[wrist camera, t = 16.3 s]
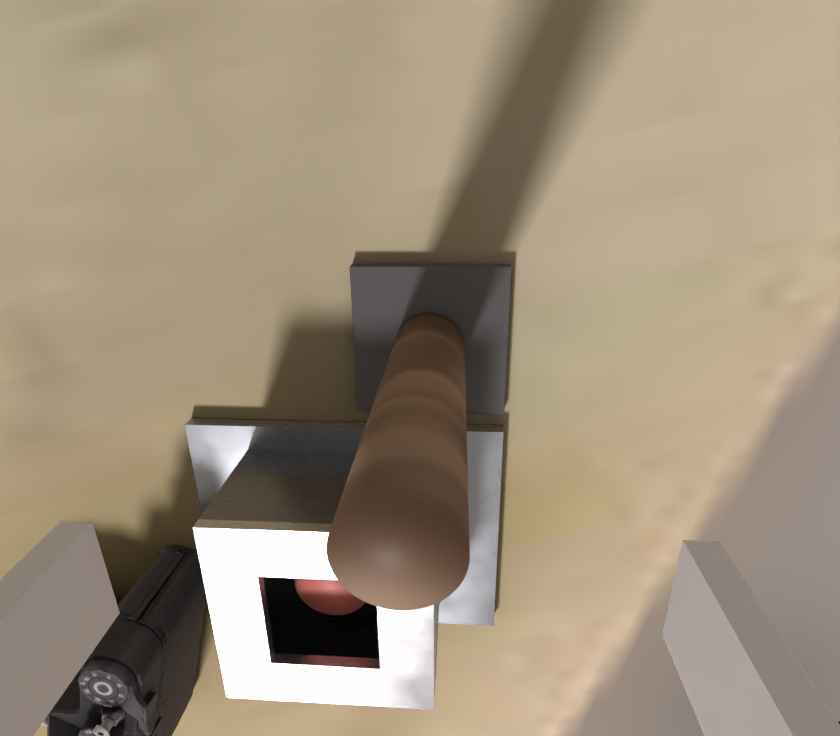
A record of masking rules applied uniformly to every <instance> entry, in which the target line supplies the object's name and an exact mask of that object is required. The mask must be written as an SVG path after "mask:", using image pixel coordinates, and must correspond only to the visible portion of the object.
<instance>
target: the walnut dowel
mask: <svg viewBox="0 0 840 736" xmlns="http://www.w3.org/2000/svg"><path fill="white" fill-rule="evenodd" d="M326 553H327V558H328V562H329V565H330V568H331V570H332V572H333V574H334V575H335V577H336V578H337V580H338V581H339V582H340V583H341V585H342V586H343V587H344V588H345V589H347V590H348V591H349V592H350V593H351V594H353V595H354V596H356V597H357V598H359V599H361V600H363V601H364V602H367V603H369V604H371V605H374V606H377V607H381V608H385V609H390V610H416V609H421V608H425V607H428V606H431V605H434V604H436V603H438V602H440V601H442V600H444V599H445V598H447V597H448V596H450V595H451V594H452V593H453V592H454V591H455V590H456V589H457V588H458V587H459V586H460V584H461V583H462V581H463V580H464V578H465V576H466V574H467V571H468V567H469V561H470V542H469V503H468V464H467V425H466V386H465V347H464V338H463V335H462V332H461V330H460V328H459V327H458V325H457V324H456V323H455V322H454V321H453V320H451V319H450V318H448V317H447V316H445V315H442V314H439V313H435V312H424V313H419V314H416V315H414V316H412V317H411V318H409V319H408V320H406V321H405V322H404V323H403V325H402V326H401V327H400V329H399V331H398V333H397V336H396V339H395V342H394V345H393V348H392V351H391V354H390V356H389V359H388V362H387V365H386V368H385V371H384V374H383V377H382V380H381V383H380V386H379V388H378V391H377V394H376V397H375V400H374V403H373V406H372V409H371V412H370V415H369V418H368V420H367V423H366V426H365V429H364V432H363V435H362V438H361V441H360V444H359V447H358V450H357V452H356V455H355V458H354V461H353V464H352V467H351V470H350V473H349V476H348V479H347V482H346V484H345V487H344V490H343V493H342V496H341V499H340V502H339V505H338V508H337V511H336V514H335V517H334V519H333V522H332V525H331V528H330V531H329V534H328V537H327V544H326Z"/></svg>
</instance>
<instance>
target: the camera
mask: <svg viewBox="0 0 840 736" xmlns="http://www.w3.org/2000/svg"><path fill="white" fill-rule="evenodd" d="M205 606H206V592H205V587H204V582H203V577H202V572H201V567H200V562H199V557H198V552H196V551H194V550H192V549H188V548H184V547H180V546H177V545H170V546H165V547H164V548H163V549H160V551H159V553H158V555H157V556H156V557H155V559H154V560H153V562H152V563H151V564H150V566H149V567H148V568H147V569H146V570H145V571H144V573H143V574H142V575H141V577H140V578H139V579H138V581H137V582H136V583H135V584H134V586H133V587H132V588H131V589H130V591H129V592H128V593H127V594H126V596H125V597H124V598H123V599H122V600H121V602H120V603H119V604H118V609H119V612H120V614H119V615H118V616H117V618H116V619H115V621H114V622H113V623H112V625H111V626H110V628H109V629H108V631H107V632H106V633H105V635H104V636H103V638H102V639H101V640H100V642H99V643H98V645H97V646H96V648H95V649H94V650H93V652H92V653H91V655H90V656H89V657H88V659H87V660H86V662H85V663H84V665H83V666H82V667H81V669H80V670H79V672H78V673H77V674H76V676H75V677H74V679H73V680H72V682H71V683H70V684H69V686H68V687H67V689H66V690H65V691H64V693H63V694H62V696H61V697H60V699H59V700H58V701H57V703H56V704H55V706H54V707H53V708H52V710H51V711H50V713H49V714H48V716H47V717H46V718H45V720H44V721H43V723H42V724H41V725H44V726H48V732H47V736H172V734H173V732H174V730H175V728H176V727H177V725H178V723H179V721H180V718H181V716H182V715H183V713H184V711H185V709H186V707H187V705H188V703H189V701H190V698H191V696H192V694H193V689H194V686H195V680H196V670H197V663H198V655H199V649H200V642H201V635H202V628H203V620H204V613H205Z"/></svg>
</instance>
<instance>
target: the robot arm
mask: <svg viewBox="0 0 840 736" xmlns="http://www.w3.org/2000/svg"><path fill="white" fill-rule="evenodd" d="M119 614H120V612H119V609H118V605H117V602H116V599H115V595H114V592H113V589H112V586H111V582H110V579H109V576H108V572H107V569H106V566H105V562H104V559H103V556H102V552H101V549H100V546H99V542H98V539H97V536H96V532H95V529H94V526H93V523H83V522H60V523H59V524H58V525H57V526H56V527H55V528H54V529H53V530H52V531H51V532H49V533H48V534H47V535H46V536H45V537H44V538H43V539H42V540H41V541H40V542H39V543H38V544H37V545H36V546H35V547H34V548H33V549H32V550H31V551H30V552H29V553H28V554H27V555H26V556H25V557H24V558H23V559H22V560H21V561H20V562H19V563H18V564H17V565H16V566H15V567H14V568H12V569H11V570H10V571H9V572H8V573H7V574H6V575H5V576H4V577H3V578H2V579H1V580H0V736H33V735H34V734H35V733H36V731H37V730H38V728H39V727H40V725H41V724H42V723H43V721H44V720H45V718H46V717H47V716H48V714H49V713H50V711H51V710H52V708H53V707H54V706H55V704H56V703H57V701H58V700H59V699H60V697H61V696H62V694H63V693H64V691H65V690H66V689H67V687H68V686H69V684H70V683H71V682H72V680H73V679H74V677H75V676H76V674H77V673H78V672H79V670H80V669H81V667H82V666H83V665H84V663H85V662H86V660H87V659H88V657H89V656H90V655H91V653H92V652H93V650H94V649H95V648H96V646H97V645H98V643H99V642H100V640H101V639H102V638H103V636H104V635H105V633H106V632H107V631H108V629H109V628H110V626H111V625H112V623H113V622H114V621H115V619H116V618H117V616H118V615H119ZM663 637H664V639H665V642H666V644H667V647H668V649H669V652H670V654H671V656H672V659H673V661H674V664H675V666H676V669H677V671H678V673H679V675H680V678H681V681H682V683H683V685H684V688H685V690H686V692H687V695H688V697H689V700H690V702H691V704H692V707H693V709H694V712H695V714H696V717H697V719H698V721H699V724H700V726H701V729H702V731H703V733H704V736H840V722H838V721H837V720H836V718H835V717H834V715H833V714H832V712H831V711H830V709H829V708H828V706H827V705H826V703H825V701H824V700H823V698H822V697H821V696H820V694H819V692H818V691H817V689H816V688H815V686H814V685H813V683H812V682H811V680H810V679H809V677H808V675H807V674H806V673H805V671H804V669H803V668H802V666H801V665H800V663H799V662H798V660H797V659H796V657H795V656H794V654H793V653H792V651H791V650H790V648H789V647H788V645H787V643H786V642H785V640H784V639H783V637H782V636H781V634H780V633H779V631H778V630H777V628H776V627H775V625H774V623H773V622H772V620H771V619H770V617H769V616H768V614H767V613H766V612H765V610H764V608H763V607H762V605H761V604H760V602H759V601H758V599H757V598H756V596H755V594H754V593H753V591H752V590H751V588H750V587H749V585H748V584H747V582H746V581H745V579H744V578H743V576H742V574H741V573H740V571H739V570H738V569H737V567H736V565H735V564H734V562H733V561H732V559H731V558H730V556H729V555H728V553H727V552H726V550H725V549H724V547H723V546H722V544H721V543H720V541H691V540H683V542H682V547H681V551H680V556H679V561H678V565H677V570H676V574H675V579H674V584H673V588H672V593H671V598H670V602H669V607H668V611H667V616H666V621H665V625H664V630H663Z"/></svg>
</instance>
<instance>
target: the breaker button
mask: <svg viewBox="0 0 840 736" xmlns="http://www.w3.org/2000/svg"><path fill="white" fill-rule="evenodd" d="M295 588H296V591H297V593H298V595H299V597H300V598H301V599H302V600H303V601H304V603H306V604H307V605H308V606H309V607H311V608H312V609H314V610H316V611H319V612H321V613H324V614H329V615H344V614H349V613H352V612H354V611H356V610H358V609H359V608H360V607H362V606H363V605H364V603H365V602H364V601H363V600H361V599H359V598H357V597H356V596H354V595H353V594H351V593H350V592H349V591H348V590H347V589H345V588H344V587H343V586H342V585H341V583H340V582H339V581H338V580H327V579H304V578H295Z"/></svg>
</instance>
